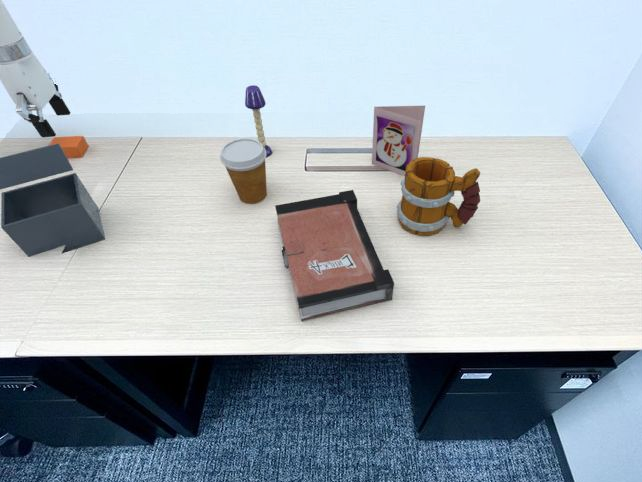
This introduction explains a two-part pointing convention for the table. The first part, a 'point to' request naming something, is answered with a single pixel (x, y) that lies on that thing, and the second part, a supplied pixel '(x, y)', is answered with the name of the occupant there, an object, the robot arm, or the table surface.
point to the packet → (71, 145)
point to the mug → (435, 196)
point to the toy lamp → (257, 112)
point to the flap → (32, 165)
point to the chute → (51, 216)
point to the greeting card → (396, 136)
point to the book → (331, 256)
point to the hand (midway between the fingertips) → (56, 125)
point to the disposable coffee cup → (246, 168)
